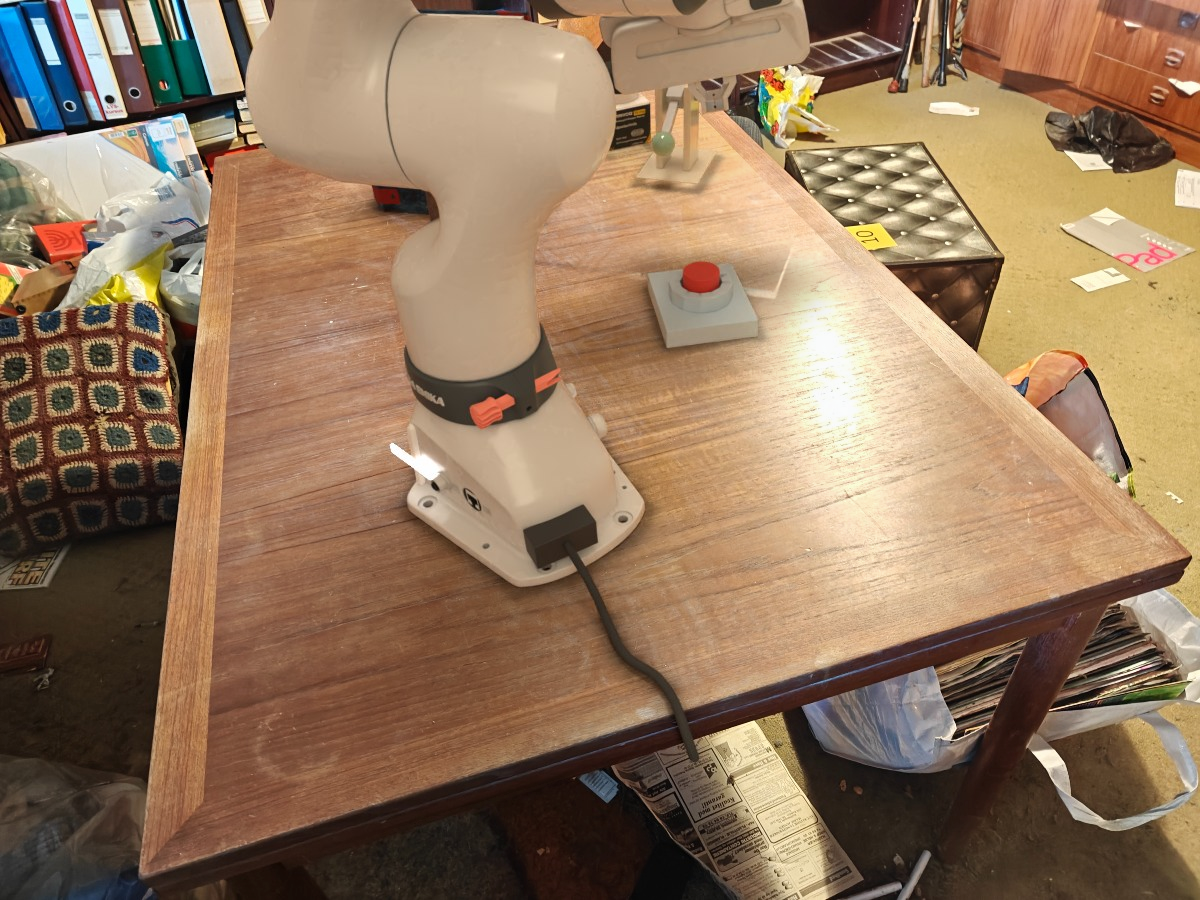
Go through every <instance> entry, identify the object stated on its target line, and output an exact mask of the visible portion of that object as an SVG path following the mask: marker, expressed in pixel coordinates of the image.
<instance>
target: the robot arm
mask: <svg viewBox="0 0 1200 900" xmlns="http://www.w3.org/2000/svg"><path fill="white" fill-rule="evenodd" d="M526 2H527V3H528V4H529V5H530V6H531V8H532V9H533V10H535V12H537V13H538V14H539V15H540V16H541V17H543V18H544V19H545V20H550V21H557V20H569V19H582V18H587V17H600V18H599V21H598V25H599V29H600V30H599V31H600V36H601V39H602V41H603V42H604V44H605V45H606V46H608V47H609V48H610V53H611V54H610V57H611V58H610V60H611V62H612V73H613V80H614V85H615V88H616V89H617V90H618V91H619V92H621V93H622V94H624V95H629V94H635V93H640V94H641V93H644V92H645V93H646V92H650V91H655V90H656V89H662V88H667V87H673V86H678V85H684V84H688V90H689V92H690V93H691V94H692V95H693V96H694V97H695V98H696V99H697V100H698V101H699V103H700V107H701V114H702V115H707V114H712V113H713V114H714V113H718V112H725V111H729V110H730V106H729V97H730V96H731V94H732V92H733V90H734V89H735V86H736V84H737V83H738V82H737V76H738V75H742V74H747V73H749V74H750V73H754V72H759V71H764V70H770V69H776V68H782V67H786V66H787V67H788V66H792V65H798V64H802V63H803V62H804V61H805V60H806V59H807V57H808V56H809V55H810V54H811V43H810V41H811V40H810V33H809V27H808V20H807V15H806V14H807V13H806V11H805V5H804V1H803V0H526ZM417 9H418V8H417V7H416V6H415V5H414V3H413V1H412V0H274V5H273V12H272V15H271V18H270V21H269V23H268V25H267V26H266V28H265V30H264V31H263V32H262V33H261V34H260V35H259V37H258V39H257V40H256V42H255V44H254V46H253V48H252V50H251V53H250V55H249V57H248V58H249V59H248V62H247V67H246V72H245V84H244V85H245V86H244V87H245V99H246V106H247V110H248V113H249V117H250V119H251V122H252V125H253V127H254V130H255V131H256V133H257V135H258V137H259V138H260V140H261V141H262V142H261V143H262V144H263V145H264V146H265V148H266V150H268V151H269V153H270V154H271V155H272V156H274V158H276V159H277V160H278V161H280V162H282V163H283V164H285V165H289V166H291V167H293V168H296V169H300V170H303V171H305V172H308V173H310V174H314V175H317V176H321V177H323V178H327V179H329V180H333V181H337V182H339V183H344V184H354V185H355V184H356V185H369V186H372V185H378V186H389V187H400V188H412V189H421V190H423V191H428V192H430V193H431V194H432V195H433V197H434V198H435V200H436V203H437V206H438V210H439V218H437V219H435V220H433V221H431V222H430V221H429V222H427V223H425V224H423V225H422V226H421V227H419V228H417V229H416V230H414V231H413V232H412V233H411V234H410V235H408V236H407V237H406V238H405V239H404V240H403V241H402V243H400V245H399V247H398V248H397V250H396V252H395V254H394V256H393V259H392V260H393V261H392V263H391V267H390V272H389V273H390V274H389V285H390V289H391V293H392V297H393V301H394V305H395V308H396V312H397V317H398V320H399V323H400V327H401V332H402V335H403V339H404V342H405V344H404V348H403V358H404V368H405V374H406V377H407V380H408V382H409V384H410V388H411V391H412V393H413V396H414V397H415V399H414V404H413V408H412V411H411V415H410V417H409V420H408V423H407V427H406V436H407V440H408V445H409V450H410V454H409V453H407V452H406V451H404V450H403V449H401V448H400V447H399V446H398V445H396V444H394V443H393V442H392V443H391V444H389V446H390V450H391V453H393V454H394V455H395V456H397V457H398V458H399V459H400V460H401V461H402V460H403V461H404V462H405V463H406V464H407V465H409V466H411V468H413V471H414V476H415V482H414V483H413V485H412V486H411V488H410V489H409V491H408V493H407V496H406V504H407V509H408V511H409V512H410V513H411V514H413V515H414V516H416V517H417V518H418V519H419V520H421V521H423V522H424V523H425V524H426V525H428V526H429V527H431V528H432V529H434V530H435V531H436V532H437V533H439V534H440V535H442V536H443V537H445V538H446V539H448V540H449V541H450V542H452V543H453V544H455V545H456V546H457V547H459V548H460V549H461V550H463V551H465V552H466V553H467V554H468V555H470V556H471V557H473V558H474V559H475V560H477V561H478V562H479V563H481V564H483V565H484V566H486V567H487V568H488V569H489V570H491V571H492V572H494V573H495V574H497V575H498V576H500V577H501V578H502V579H504V580H505V581H506V582H508V583H509V584H511V585H513V586H515V587H518V588H526V587H527V588H528V587H536V586H541V585H545V584H549V583H551V582H555V581H558V580H561V579H563V578H565V577H567V576H571V575H572V574H574V573H576V572H578V574H579V575H580V579H582V582H583V583H584V585H585V587H586V589H587V591H588V593H589V595H590V596H591V599H592V602H593V603H594V606H595V608H596V611H597V612H598V613H597V614H598V615H599V617H600V620H601V622H602V624H603V626H604V628H605V630H606V633H607V635H608V637H609V639H610V642H611V644H612V645H613V648H614V649H615V651H616V653H617V654H618V656H619V657H620V658H621V659H622V660H623V661H624V662H625V664H627V665H629V667H632V668H633V669H634V670H635V671H638V672H640V673H642V674H644V675H645V676H647V677H648V678H650V679H651V680H652V681H653V682H655V684H656V685H657V686H658V688H659V689H660V690H661V692H662V693H663V695H664V696H665V698H666V699H667V701H668V703H669V705H670V708H671V710H672V713H673V715H674V718H675V722H676V724H677V727H678V730H679V734H680V737H681V740H682V743H683V745H684V748H685V751H686V754H687V756H688V759H689V761H691V762H692V763H698V762H699V761H700V755H699V752H698V748H697V746H696V743H695V740H694V737H693V735H692V731H691V728H690V726H689V722H688V720H687V717H686V714H685V711H684V708H683V705H682V703H681V701H680V698H679V697H678V695H677V694H676V692H675V690H674V689H673V687H672V685H671V684H670V683H669V681H668V680H667V679H666V677H664V675H663V674H662V673H661V672H659V671H658V670H657V669H655V668H654V667H653V666H651V665H649V664H647V663H645V662H644V661H642V660H640V659H639V658H637V657H635V656H634V655H633V654H632V653H631V652H630V651H629V650H628V648H627V647H626V646H625V645H624V643H623V641H622V638H621V636H620V634H619V632H618V630H617V627H616V625H615V623H614V621H613V619H612V617H611V615H610V613H609V611H608V607H607V606H606V603H605V601H604V599H603V597H602V595H601V593H600V590H599V589H598V588H599V587H598V586H597V585H596V583H595V580H594V579H593V577H592V575H591V574H590V571H589V570H588V568H587V567H588V566H589V565H591V564H592V563H594V562H596V561H597V560H599V559H601V558H602V557H603V556H605V555H606V554H608V553H610V552H611V551H613V549H615V548H617V546H619V545H620V544H621V543H623V542H624V541H625V540H626V539H627V538H628V537H629V536H630V535H631V534H632V533H633V531H634V530H635V529H636V528H637V527H638V525H639V523H640V522H641V521H642V518H643V516H644V514H645V512H646V505H645V500H644V498H643V496H642V495H641V494H640V492H639V491H638V490H637V488H636V487H635V486H634V484H633V483H632V482H631V481H630V479H629V478H628V477H627V475H626V474H625V472H624V471H623V470H622V468H621V467H620V466H619V465H618V463H617V462H616V460H614V458H613V457H612V455H611V454H610V453H609V452H608V450H607V448H606V446H605V444H604V443H603V441H602V439H603V438H605V437H607V436H608V434H609V430H608V429H609V428H608V424H607V422H606V421H605V418H604V416H603V415H602V414H601V413H600V412H594V413H591V414H589V415H586V414H585V413H584V411H583V409H582V408H581V406H580V404H579V403H578V401H577V400H576V398H575V397H577V396H578V391H577V388H576V386H575V384H574V383H573V382H568V383H566V382H565V381H564V380H563V378H562V377H561V375H560V373H561V372H562V370H561V368H559V367H558V365H557V362H556V359H555V356H554V350H553V347H552V344H551V341H550V340H549V338H548V336H547V333H546V330H545V328H544V326H543V324H542V322H541V321H540V316H539V307H538V297H537V281H536V256H537V255H536V253H537V248H538V244H539V243H538V242H539V240H540V236H541V234H542V231H543V229H544V227H545V225H546V223H547V222H548V220H549V218H550V217H551V216H552V214H553V213H554V212H555V211H556V210H557V208H558V207H560V206H561V204H562V203H563V202H565V200H567V199H568V198H569V197H571V196H572V195H573V194H575V193H576V192H579V191H580V190H581V189H582V188H583V187H584V186H586V184H588V183H589V182H590V181H591V180H592V178H593V177H594V176H595V175H596V174H597V173H598V171H599V170H600V168H601V166H602V165H603V164H604V162H605V160H606V157H607V156H608V153H609V152H610V151H609V149H610V146H611V143H612V140H613V136H614V131H615V124H616V99H615V93H614V88H613V84H612V81H611V78H610V75H609V72H608V69H607V67H606V65H605V62H604V59H603V58H602V56H601V55H600V53H599V52H598V50H597V48H596V47H595V46H594V45H593V44H592V42H591V41H590V40H589V38H587V37H586V36H583V35H581V34H577V33H574V32H570V31H568V30H564V29H560V28H557V27H553V26H551V25H546V24H542V23H538V22H533V21H531V22H530V21H526V20H522V19H518V18H496V17H465V16H433V15H427V14H422V13H419V12H418V11H417ZM721 78H722V83H721V86H720V87H719V88H715V89H711V90H710V89H709V90H706V89H705V88H704V86H703V85H702V82H705V81H711V80H715V79H721ZM545 569H547V570H545Z"/></svg>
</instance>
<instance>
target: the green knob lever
mask: <svg viewBox="0 0 1200 900" xmlns="http://www.w3.org/2000/svg"><path fill="white" fill-rule="evenodd" d="M685 85H686V84H684V85H678V86H673V87H668V91H667V94H666V98H667V103H668V110H667V114H666V117H665V121H664V124H663V128H662V131H661V132H658V133H657V134H656V133H655V134H654V135H653V137H651V142H650V147H651V150H652V153H653V152H654V153H655V154H656V155H658V156H660V157H665V156H668V155H670V154H671V153H672V152H673V150H674V147H675V146H676V140H675V138H674V136H673V135H672V132H673V130H674V129H673V128H674V125H675V121H676V118H677V115H678V112H679V109H680V110H684V86H685Z"/></svg>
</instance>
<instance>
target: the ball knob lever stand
mask: <svg viewBox="0 0 1200 900" xmlns="http://www.w3.org/2000/svg"><path fill="white" fill-rule="evenodd" d="M667 91H668V87H667V88H662V89H656V90H654V110H655V111H654V113H655V114H654V115H655V116H654V117H655V134H657V133H658V132H661V131H662V128H663V124H664V121H665V117H666V114H667V110H668V103H667V98H666V94H667ZM699 123H700V102H699V101H698V100H697V99H696V98H695V97H694V96H693V95H692V94H691V93H690V92H689V90H688V84H686V85H685V86H684V109H683V138H682V139H683V144H682V145H683V146H676V145H675V147H674V150H673V152H672V153H671V154H670V155H668V156H665V157H660V156H658V155H656V154H655V153H654V152H653V151H652V154H651V155H650V156H649V157H648V159H647V161H646V162H645V163H644V165H643V166H642V167H641V169H640V170H639V172H638V173H637V175H636V176H635V179H644V180H655V181H664V182H673V183H681V184H693V185H698V184H699V183H700V181H701V179H702V178H703V176H704V174H705V172H706V171H707V169H708V168H709V166H710V164H711V163H712V161H713V159H714V158H715V156H716V154H717V152H718V150H717V149H708V148H699V127H700V124H699Z"/></svg>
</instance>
